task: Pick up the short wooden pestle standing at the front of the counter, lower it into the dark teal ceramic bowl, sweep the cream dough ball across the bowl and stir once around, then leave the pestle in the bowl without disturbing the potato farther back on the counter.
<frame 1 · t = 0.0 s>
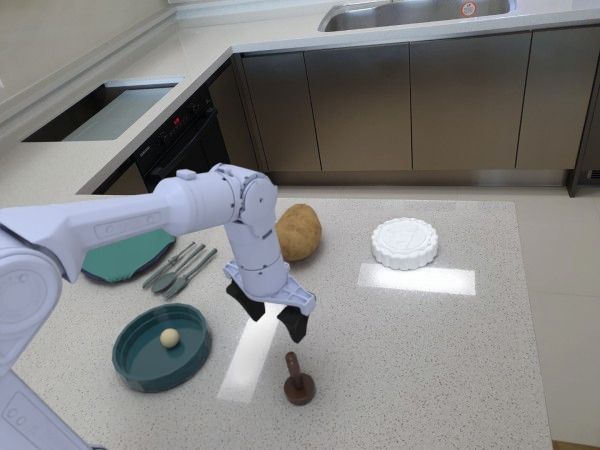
hand: (279, 327, 65), 8 cm above the table, tool pointing down, fingers open, 7 cm apart
cutlery set: (144, 260, 97), on the table
dough ball: (169, 338, 75), point 2 cm above the table, touching bowl
wooden pestle: (300, 391, 65), on the table
potato: (300, 249, 91), on the table
bowl: (166, 352, 75), on the table
mooncake: (404, 250, 86), on the table
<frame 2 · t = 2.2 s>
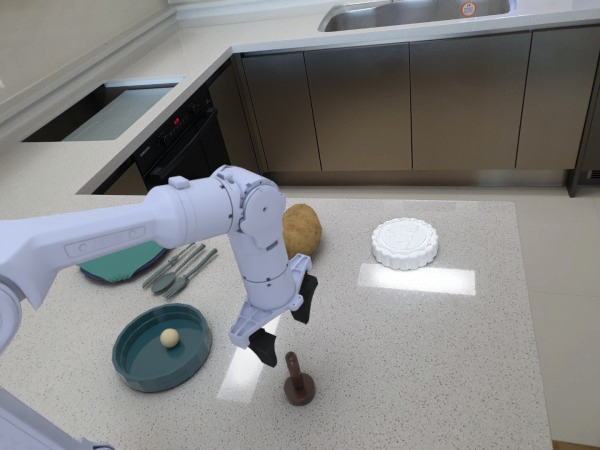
hand: (286, 341, 61), 10 cm above the table, tool pointing down, fingers open, 7 cm apart
nothing on the table moved.
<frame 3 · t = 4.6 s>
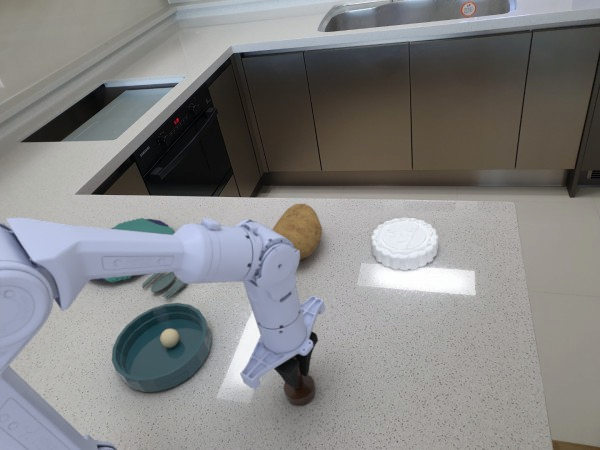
hand: (296, 377, 63), 3 cm above the table, tool pointing down, fingers closed on wooden pestle
wooden pestle: (300, 391, 65), on the table, touching gripper
everything else where it was.
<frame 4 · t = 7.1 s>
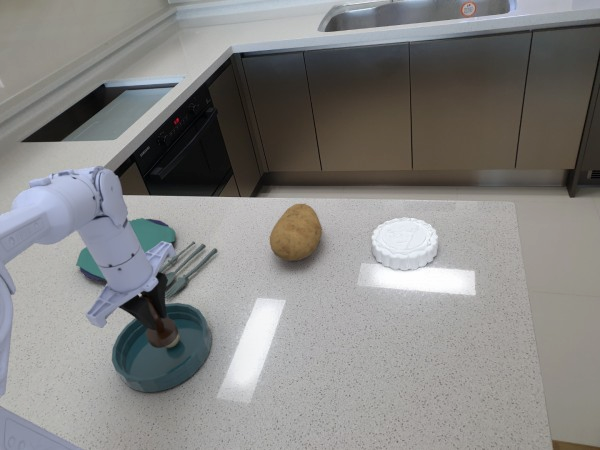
hand: (155, 321, 67), 10 cm above the table, tool pointing down, fingers closed on wooden pestle
wooden pestle: (163, 335, 69), point 7 cm above the table, touching gripper
everything else where it was.
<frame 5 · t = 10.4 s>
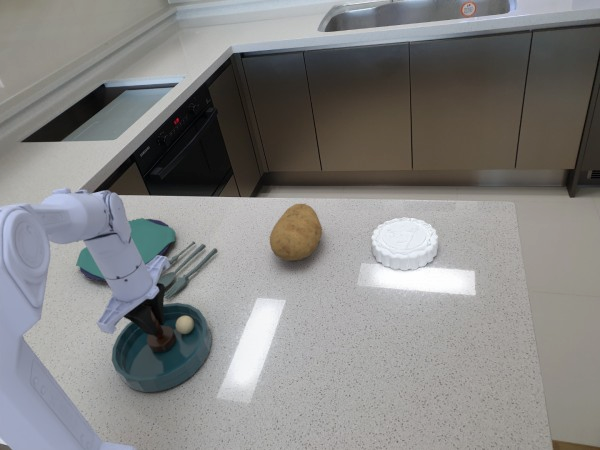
hand: (155, 327, 74), 4 cm above the table, tool pointing down, fingers closed on wooden pestle
dough ball: (184, 324, 77), point 2 cm above the table, tilted 121°, touching bowl
wooden pestle: (163, 341, 76), point 1 cm above the table, touching gripper
everything else where it was.
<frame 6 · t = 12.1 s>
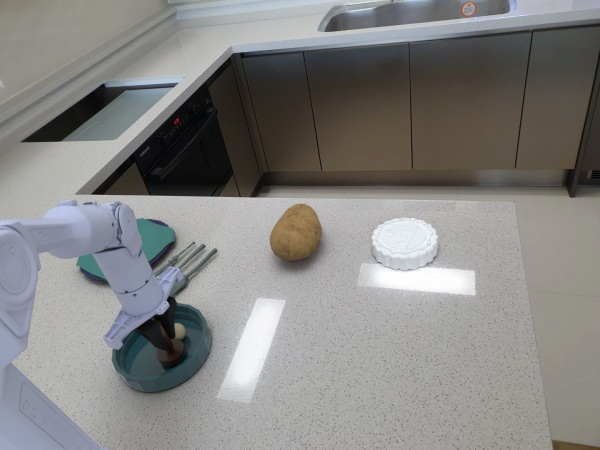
hand: (165, 341, 71), 4 cm above the table, tool pointing down, fingers closed on wooden pestle
dough ball: (176, 332, 76), point 2 cm above the table, tilted 49°, touching bowl
wooden pestle: (173, 355, 73), point 1 cm above the table, touching gripper
everything else where it was.
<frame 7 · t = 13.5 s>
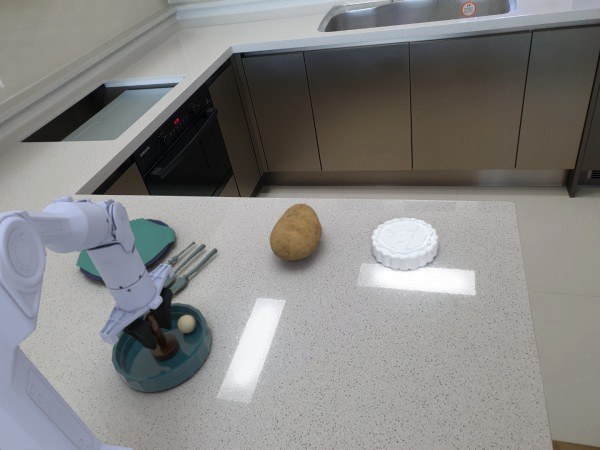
hand: (158, 337, 73), 4 cm above the table, tool pointing down, fingers open, 3 cm apart
dough ball: (186, 324, 77), point 2 cm above the table, tilted 132°, touching bowl
wooden pestle: (166, 350, 75), resting on bowl
everything else where it was.
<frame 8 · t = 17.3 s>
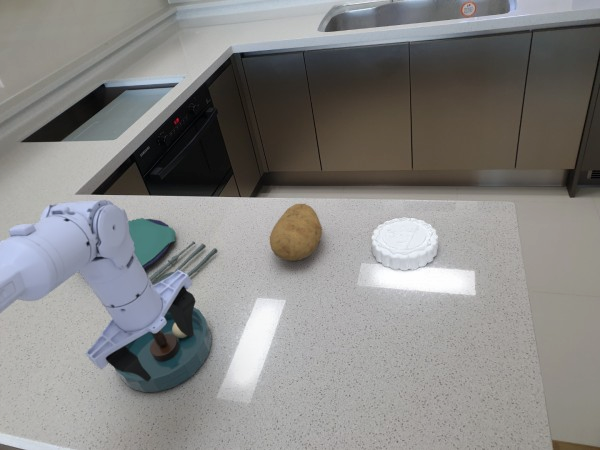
hand: (166, 354, 61), 10 cm above the table, tool pointing down, fingers open, 7 cm apart
dough ball: (181, 328, 76), point 2 cm above the table, tilted 88°, touching bowl
everything else where it was.
at the end: wooden pestle inside the target area in the bowl (0.1 cm from its centre), point 0.5 cm above the bowl's base; dough ball moved 2.4 cm from its start; potato moved 0.2 cm from its start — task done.
